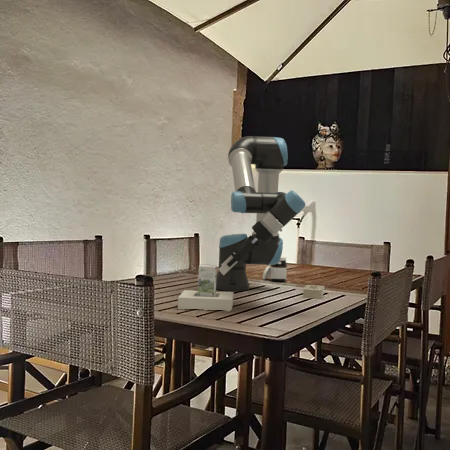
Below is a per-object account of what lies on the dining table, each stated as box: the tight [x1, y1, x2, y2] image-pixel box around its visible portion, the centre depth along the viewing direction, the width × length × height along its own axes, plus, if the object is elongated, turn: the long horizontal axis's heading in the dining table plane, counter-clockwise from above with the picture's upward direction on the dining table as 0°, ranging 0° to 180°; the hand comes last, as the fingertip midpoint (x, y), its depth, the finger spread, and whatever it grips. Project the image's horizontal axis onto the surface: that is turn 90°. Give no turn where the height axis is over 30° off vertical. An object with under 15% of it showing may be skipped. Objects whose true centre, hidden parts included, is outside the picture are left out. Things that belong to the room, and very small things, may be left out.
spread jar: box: [262, 256, 288, 283], centre depth 262 cm, size 12×11×12 cm
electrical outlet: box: [302, 284, 325, 300], centre depth 223 cm, size 7×4×18 cm
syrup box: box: [197, 263, 218, 297], centre depth 190 cm, size 6×6×14 cm
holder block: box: [177, 289, 235, 312], centre depth 191 cm, size 18×16×4 cm
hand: (222, 269), depth 189 cm, fingers open, 13 cm apart
